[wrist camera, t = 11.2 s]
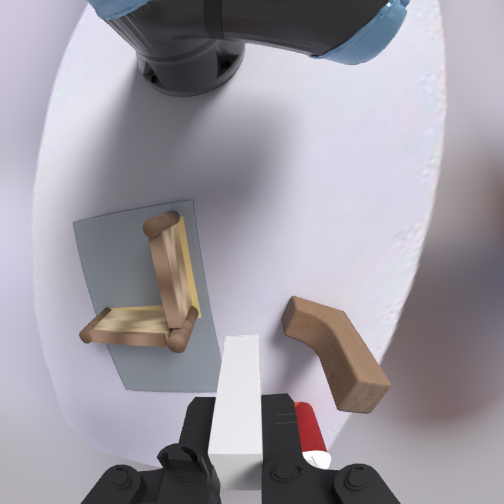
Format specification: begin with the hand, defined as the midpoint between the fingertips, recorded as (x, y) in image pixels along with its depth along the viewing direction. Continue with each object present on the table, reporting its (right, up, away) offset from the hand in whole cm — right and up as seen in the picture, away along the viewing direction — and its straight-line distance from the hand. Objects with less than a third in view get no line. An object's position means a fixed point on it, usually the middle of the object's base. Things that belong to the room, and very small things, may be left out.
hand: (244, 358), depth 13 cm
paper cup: (+9, -25, +33) cm, 43 cm away
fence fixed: (-9, +3, +25) cm, 27 cm away
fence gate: (-17, -4, +27) cm, 32 cm away
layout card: (-16, -4, +28) cm, 32 cm away
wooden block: (+10, -4, +28) cm, 30 cm away
